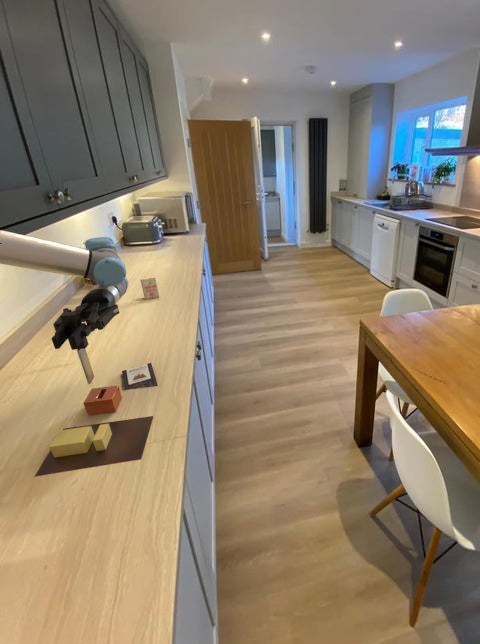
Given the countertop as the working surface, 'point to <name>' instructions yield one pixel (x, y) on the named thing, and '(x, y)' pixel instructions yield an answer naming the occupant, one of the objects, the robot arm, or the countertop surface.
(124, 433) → the board
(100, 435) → the butter slice
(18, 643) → the countertop surface
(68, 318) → the knife
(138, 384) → the chocolate bar
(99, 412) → the knife stand
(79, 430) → the butter
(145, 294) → the tea bag
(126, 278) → the robot arm
